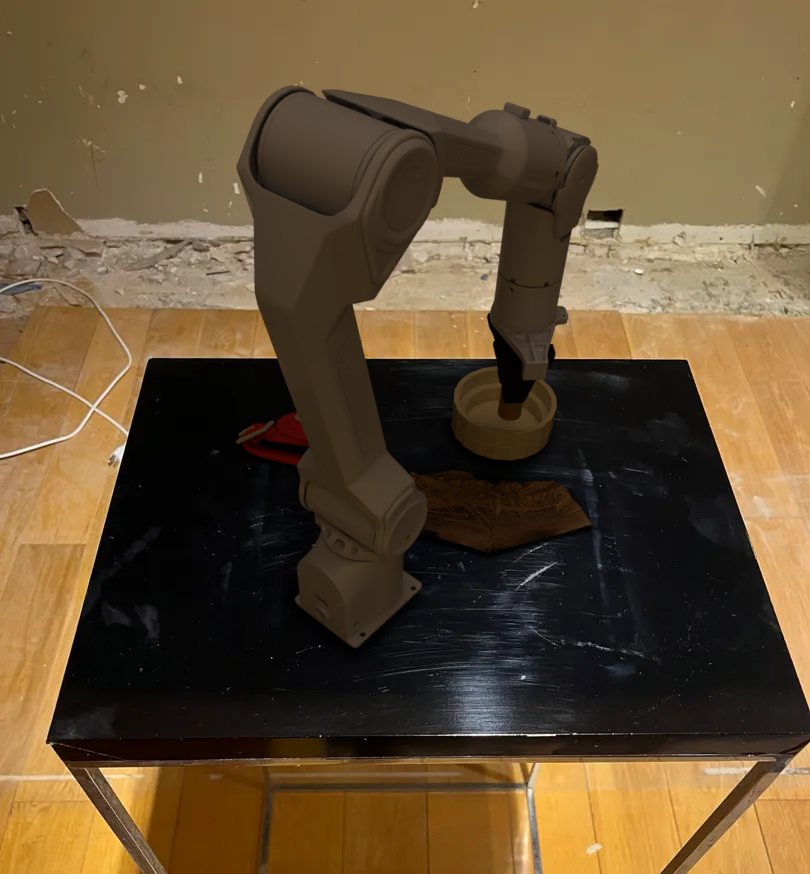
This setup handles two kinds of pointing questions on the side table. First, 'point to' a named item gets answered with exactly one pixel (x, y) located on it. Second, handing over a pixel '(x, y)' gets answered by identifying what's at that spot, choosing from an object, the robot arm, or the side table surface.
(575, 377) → the side table surface
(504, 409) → the stick
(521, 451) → the bowl
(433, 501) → the wooden fragment
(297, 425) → the tracker holder
